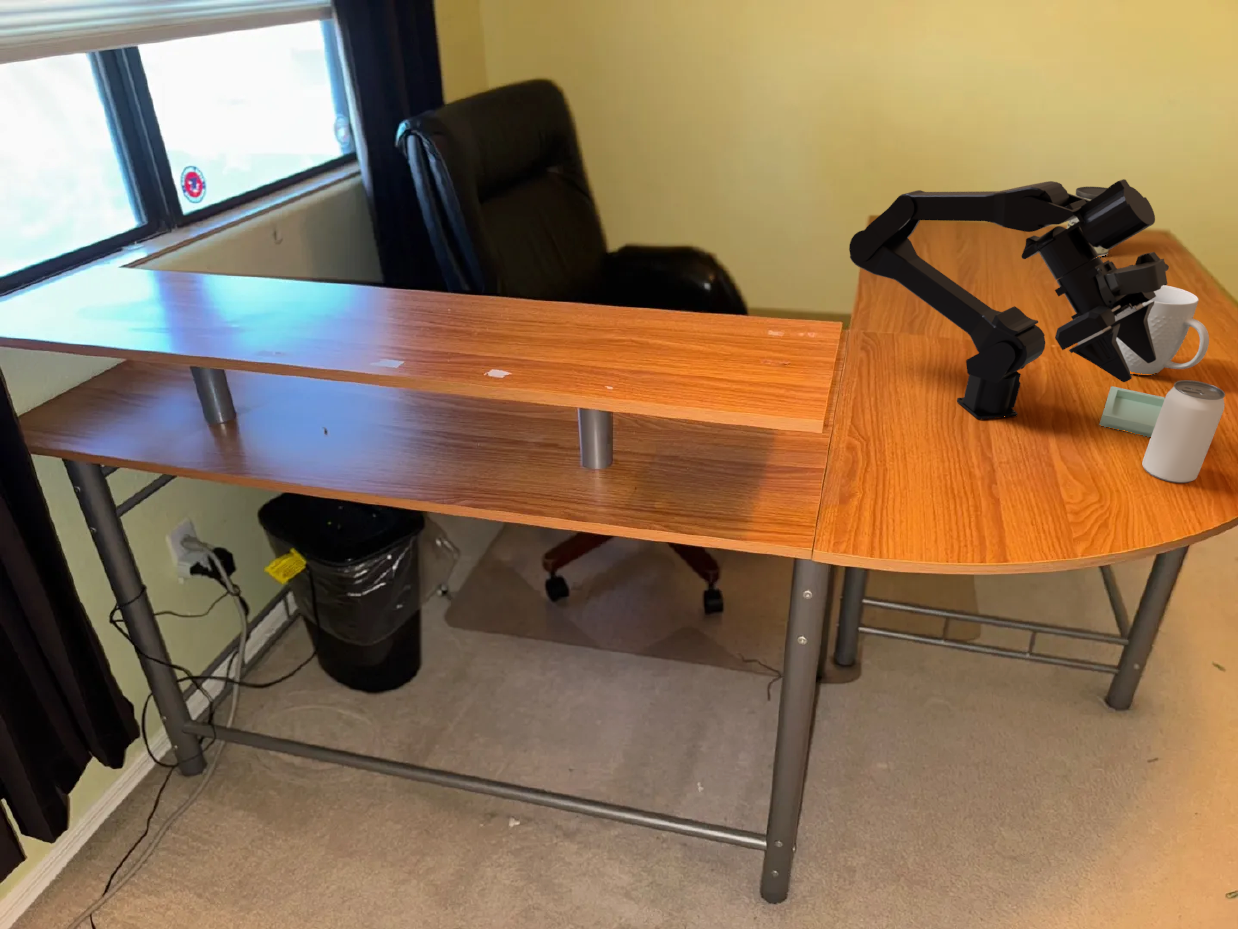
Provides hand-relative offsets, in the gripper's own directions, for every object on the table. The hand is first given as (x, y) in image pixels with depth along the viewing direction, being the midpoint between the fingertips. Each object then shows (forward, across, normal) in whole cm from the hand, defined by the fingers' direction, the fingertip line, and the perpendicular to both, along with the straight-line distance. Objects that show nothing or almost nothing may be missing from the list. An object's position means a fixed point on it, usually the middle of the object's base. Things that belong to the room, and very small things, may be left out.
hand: (1140, 370), depth 115 cm
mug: (+4, +34, +14) cm, 37 cm away
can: (+14, 0, +4) cm, 14 cm away
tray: (+8, +14, +9) cm, 19 cm away
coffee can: (-21, +101, +38) cm, 110 cm away
